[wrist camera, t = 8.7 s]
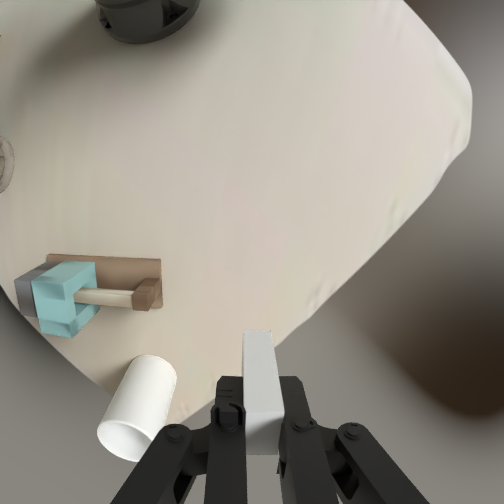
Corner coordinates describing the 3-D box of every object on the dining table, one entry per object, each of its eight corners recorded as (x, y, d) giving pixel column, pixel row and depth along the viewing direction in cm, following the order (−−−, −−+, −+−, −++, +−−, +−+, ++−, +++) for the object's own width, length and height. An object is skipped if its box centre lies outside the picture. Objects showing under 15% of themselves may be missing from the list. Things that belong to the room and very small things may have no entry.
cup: (143, 345, 46) (109, 411, 31) (186, 373, 48) (168, 445, 32) (121, 375, 48) (89, 439, 32) (161, 400, 49) (141, 469, 34)
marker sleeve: (65, 260, 39) (31, 280, 31) (94, 262, 40) (62, 284, 31) (71, 305, 41) (41, 332, 32) (99, 308, 41) (72, 338, 33)
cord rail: (49, 253, 42) (12, 272, 32) (160, 259, 43) (139, 283, 33) (55, 295, 44) (22, 321, 34) (162, 305, 45) (144, 339, 35)
